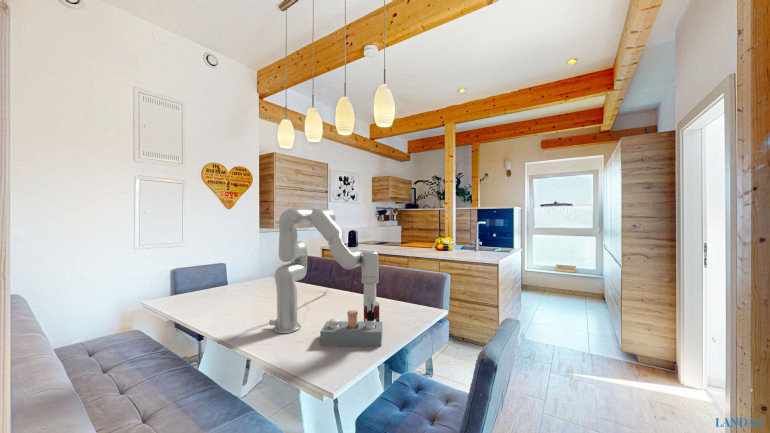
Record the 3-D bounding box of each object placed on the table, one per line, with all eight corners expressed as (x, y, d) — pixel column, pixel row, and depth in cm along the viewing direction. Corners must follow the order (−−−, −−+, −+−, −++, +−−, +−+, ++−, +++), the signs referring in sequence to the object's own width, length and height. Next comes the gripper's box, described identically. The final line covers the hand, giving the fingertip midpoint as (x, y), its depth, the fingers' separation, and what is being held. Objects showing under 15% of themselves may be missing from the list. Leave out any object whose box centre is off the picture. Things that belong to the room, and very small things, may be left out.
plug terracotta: (346, 331, 128) (346, 313, 128) (348, 327, 132) (348, 310, 132) (357, 331, 128) (356, 313, 127) (358, 327, 132) (358, 310, 132)
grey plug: (364, 340, 127) (364, 322, 127) (365, 336, 132) (365, 318, 132) (375, 340, 127) (375, 322, 127) (376, 336, 132) (375, 318, 132)
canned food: (377, 328, 143) (377, 306, 143) (361, 327, 145) (361, 305, 145) (380, 322, 151) (380, 301, 151) (366, 321, 152) (365, 300, 152)
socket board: (320, 345, 124) (320, 331, 124) (326, 334, 136) (326, 321, 136) (381, 346, 123) (381, 332, 123) (382, 334, 135) (382, 321, 135)
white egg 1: (328, 340, 128) (328, 321, 128) (330, 335, 133) (330, 318, 133) (339, 340, 128) (338, 322, 128) (340, 335, 132) (340, 318, 132)
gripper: (363, 275, 137) (364, 314, 137) (359, 283, 122) (360, 326, 122) (379, 275, 137) (380, 314, 137) (377, 283, 122) (378, 326, 122)
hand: (370, 320), depth 130 cm, fingers closed
